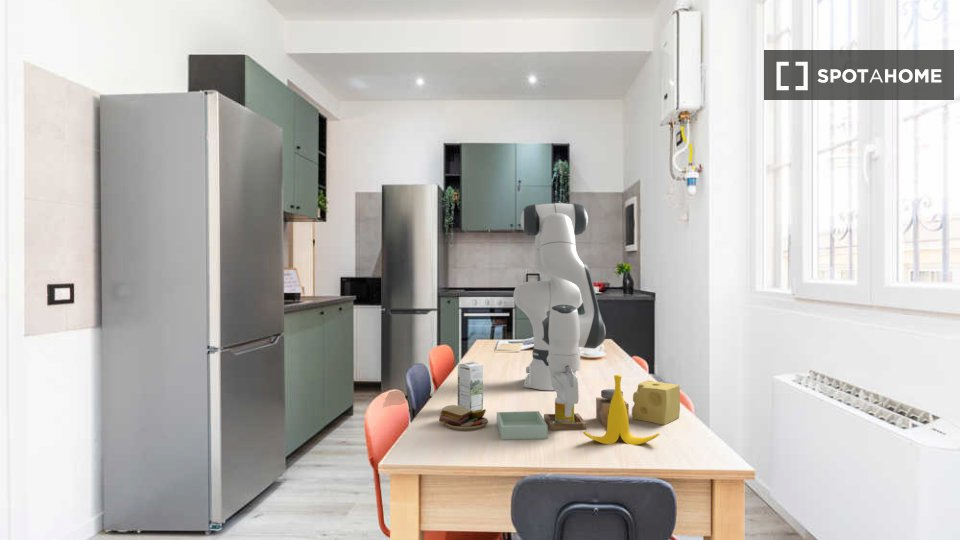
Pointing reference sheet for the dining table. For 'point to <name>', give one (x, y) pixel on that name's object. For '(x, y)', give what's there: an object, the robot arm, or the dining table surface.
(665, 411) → the cheese
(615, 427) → the banana peel
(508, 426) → the tray
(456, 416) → the toy sandwich meal
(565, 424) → the brown wooden frame
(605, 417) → the tan square block
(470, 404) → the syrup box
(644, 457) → the dining table surface
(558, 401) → the supplement bottle
